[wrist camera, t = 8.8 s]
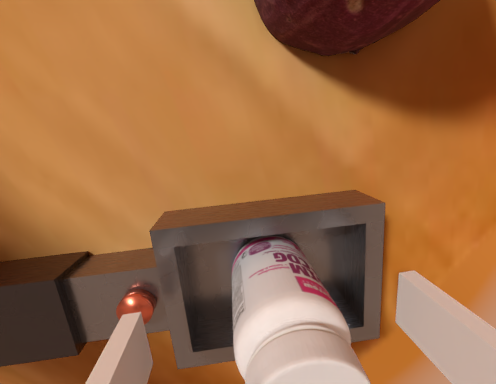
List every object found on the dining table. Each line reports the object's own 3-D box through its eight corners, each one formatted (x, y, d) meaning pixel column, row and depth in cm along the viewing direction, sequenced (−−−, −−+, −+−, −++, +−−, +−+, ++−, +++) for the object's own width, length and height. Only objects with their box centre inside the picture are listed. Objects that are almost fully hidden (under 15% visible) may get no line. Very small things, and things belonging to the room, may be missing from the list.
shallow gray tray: (2, 355, 16) (-51, 408, 13) (-47, 235, 14) (-124, 264, 11) (353, 304, 17) (381, 340, 14) (355, 190, 15) (387, 203, 12)
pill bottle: (309, 233, 15) (404, 349, 7) (300, 300, 16) (374, 467, 8) (233, 231, 15) (241, 352, 7) (229, 299, 16) (231, 476, 8)
